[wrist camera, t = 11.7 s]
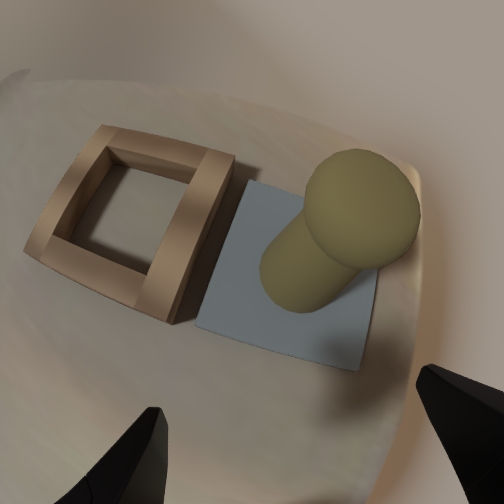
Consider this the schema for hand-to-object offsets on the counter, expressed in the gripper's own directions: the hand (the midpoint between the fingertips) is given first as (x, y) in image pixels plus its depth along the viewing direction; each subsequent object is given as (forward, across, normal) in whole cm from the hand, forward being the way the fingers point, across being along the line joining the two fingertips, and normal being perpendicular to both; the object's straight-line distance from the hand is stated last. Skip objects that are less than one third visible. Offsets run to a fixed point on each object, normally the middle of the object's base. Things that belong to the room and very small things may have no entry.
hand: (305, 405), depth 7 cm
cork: (+12, -3, 0) cm, 13 cm away
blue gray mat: (+13, -3, +1) cm, 13 cm away
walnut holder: (+15, +10, -4) cm, 19 cm away
